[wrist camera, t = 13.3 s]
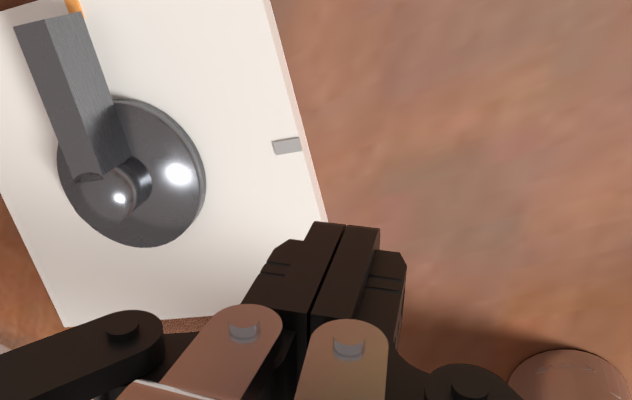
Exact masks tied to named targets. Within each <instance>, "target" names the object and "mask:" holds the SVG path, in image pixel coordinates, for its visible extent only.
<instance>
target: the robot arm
mask: <svg viewBox="0 0 632 400" xmlns="http://www.w3.org/2000/svg"><path fill="white" fill-rule="evenodd" d="M379 247H380V229H379V228H371V227H363V226H354V225H347V226H346V225H345V224H337V223H328V222H320V221H314V222H313V224H312V226H311V228H310V230H309V231H308V233H307V235H306V237H305V239H304V241H303V240H295V239H288V240H287V241H285V242H284V243H282V244H281V245H279V246H278V247H276V248H274V250H273V251H272V253H271V255H270V256H269V258H268V259H267V261H266V264H264V266H263V268H262V269H261V271H260V274H258V276H257V277H256V279H255V281H254V282H253V284H252V286H251V287H250V289H249V290H248V292H247V294H246V295H245V297H244V299H243V300H242V302H241V303H240V304H239V305H234V306H230V307H227V308H225V309H222V310H221V311H219V312H217V313H216V314H215V315H213V316H212V317H211V318H210V320H209V321H208V322H207V323H206V325H205V326H204V327H203V328H202V330H201V331H199V332H189V333H173V334H164V333H163V325H162V322H161V320H160V319H159V318H158V317H157V316H156V315H154V314H152V313H150V312H147V311H142V310H124V311H118V312H114V313H111V314H108V315H105V316H103V317H100V318H97V319H95V320H92V321H89V322H87V323H84V324H81V325H78V326H76V327H73V328H70V329H68V330H65V331H62V332H60V333H57V334H54V335H52V336H49V337H46V338H44V339H41V340H38V341H36V342H33V343H30V344H27V345H25V346H22V347H19V348H17V349H14V350H11V351H9V352H7V353H3V354H1V355H0V400H91V399H93V398H94V400H632V399H631V396H630V394H629V391H628V388H627V385H626V382H625V380H624V378H623V377H622V375H621V374H620V372H619V371H618V370H617V369H616V368H615V367H613V366H612V365H611V364H610V363H609V362H607V361H605V360H604V359H602V358H600V357H598V356H595V355H593V354H590V353H587V352H582V351H577V350H553V351H547V352H543V353H540V354H537V355H535V356H533V357H531V358H529V359H527V360H525V361H524V362H523V363H522V364H520V365H519V366H518V367H517V368H516V369H515V371H514V372H513V373H512V375H511V377H510V379H509V381H508V384H507V383H506V382H505V381H503V380H502V379H501V378H500V377H499V376H497V375H496V374H494V373H492V372H490V371H488V370H486V369H484V368H481V367H478V366H474V365H469V364H449V365H445V366H442V367H440V368H437V369H436V370H434V371H433V372H432V373H431V374H428V373H426V372H423V371H421V370H419V369H417V368H415V367H413V366H412V365H410V364H409V363H407V362H406V361H405V360H404V359H403V358H402V357H401V356H400V355H399V354H398V352H397V348H398V342H399V336H400V330H401V325H402V316H403V305H404V294H405V282H406V271H407V265H406V263H405V261H404V260H403V258H402V256H401V254H400V253H398V252H390V251H382V250H379Z"/></svg>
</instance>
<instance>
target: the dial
mask: <svg viewBox="0 0 632 400" xmlns="http://www.w3.org/2000/svg"><path fill="white" fill-rule="evenodd" d="M13 29H14V32H15V34H16V37H17V39H18V42H19V44H20V47H21V49H22V52H23V54H24V57H25V59H26V62H27V64H28V67H29V69H30V72H31V75H32V77H33V80H34V82H35V85H36V87H37V90H38V92H39V95H40V97H41V100H42V102H43V105H44V107H45V110H46V112H47V115H48V117H49V120H50V122H51V125H52V127H53V130H54V132H55V135H56V137H57V140H58V148H57V170H58V175H59V179H60V182H61V185H62V188H63V190H64V192H65V194H66V197H67V198H68V200H69V202H70V203H71V205H72V206H73V208H74V210H75V211H76V213H77V214H78V215H79V216H80V217H81V218H82V219H83V220H84V221H85V222H86V223H87V224H89V225H90V226H91V227H92V228H93V229H95V230H96V231H97V232H99V233H100V234H102V235H103V236H105V237H107V238H109V239H111V240H113V241H115V242H118V243H120V244H123V245H127V246H131V247H139V248H152V247H158V246H162V245H165V244H167V243H169V242H171V241H174V240H175V239H176V238H178V237H179V236H181V235H182V234H183V233H184V232H185V231H186V230H187V228H188V227H189V226H190V225H191V224H192V223H193V222H194V221H195V219H196V218H197V217H198V215H199V213H200V211H201V209H202V207H203V204H204V201H205V196H206V174H205V169H204V165H203V162H202V159H201V156H200V154H199V152H198V150H197V148H196V146H195V144H194V143H193V141H192V140H191V138H190V137H189V135H188V134H187V133H186V132H185V130H184V129H183V128H182V127H181V126H180V125H179V124H178V123H177V122H176V121H175V120H174V119H172V118H171V117H170V116H169V115H167V114H166V113H164V112H163V111H161V110H159V109H158V108H156V107H154V106H151V105H149V104H147V103H144V102H141V101H137V100H131V99H112V97H111V94H110V91H109V88H108V86H107V83H106V80H105V77H104V74H103V71H102V69H101V66H100V63H99V60H98V57H97V54H96V52H95V49H94V46H93V43H92V40H91V37H90V35H89V32H88V29H87V26H86V23H85V20H84V18H83V15H82V12H81V11H79V12H75V13H70V14H66V15H61V16H56V17H52V18H47V19H43V20H39V21H34V22H30V23H26V24H22V25H18V26H14V27H13Z"/></svg>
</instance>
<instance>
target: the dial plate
mask: <svg viewBox="0 0 632 400" xmlns="http://www.w3.org/2000/svg"><path fill="white" fill-rule="evenodd" d="M79 11H81V12H82V15H83V18H84V20H85V23H86V26H87V29H88V32H89V35H90V37H91V40H92V43H93V46H94V49H95V52H96V54H97V57H98V60H99V63H100V66H101V69H102V71H103V74H104V77H105V80H106V83H107V86H108V88H109V91H110V94H111V97H112V99H131V100H137V101H141V102H144V103H147V104H149V105H151V106H154V107H156V108H158V109H159V110H161V111H163V112H164V113H166V114H167V115H169V116H170V117H171V118H172V119H174V120H175V121H176V122H177V123H178V124H179V125H180V126H181V127H182V128H183V129H184V130H185V132H186V133H187V134H188V135H189V137H190V138H191V140H192V141H193V143H194V144H195V146H196V148H197V150H198V152H199V154H200V156H201V159H202V162H203V165H204V169H205V174H206V196H205V201H204V204H203V207H202V209H201V211H200V213H199V215H198V217H197V218H196V219H195V221H194V222H193V223H192V224H191V225H190V226H189V227H188V228H187V230H186V231H185V232H184V233H183V234H182V235H181V236H179V237H178V238H176V239H175V240H174V241H171V242H169V243H167V244H165V245H162V246H158V247H152V248H139V247H131V246H127V245H123V244H120V243H118V242H115V241H113V240H111V239H109V238H107V237H105V236H103V235H102V234H100V233H99V232H97V231H96V230H95V229H93V228H92V227H91V226H90V225H89V224H87V223H86V222H85V221H84V220H83V219H82V218H81V217H80V216H79V215H78V214H77V213H76V211H75V210H74V208H73V206H72V205H71V203H70V202H69V200H68V198H67V197H66V194H65V192H64V190H63V188H62V185H61V182H60V179H59V175H58V170H57V148H58V140H57V137H56V135H55V132H54V130H53V127H52V125H51V122H50V120H49V117H48V115H47V112H46V110H45V107H44V105H43V102H42V100H41V97H40V95H39V92H38V90H37V87H36V85H35V82H34V80H33V77H32V75H31V72H30V69H29V67H28V64H27V62H26V59H25V57H24V54H23V52H22V49H21V47H20V44H19V42H18V39H17V37H16V34H15V32H14V29H13V27H14V26H18V25H22V24H26V23H30V22H34V21H39V20H43V19H47V18H52V17H56V16H61V15H66V14H70V13H75V12H79ZM0 193H1V195H2V198H3V200H4V202H5V204H6V206H7V208H8V210H9V212H10V214H11V216H12V218H13V221H14V223H15V225H16V227H17V229H18V231H19V233H20V235H21V237H22V239H23V242H24V244H25V246H26V248H27V250H28V252H29V254H30V256H31V258H32V260H33V263H34V265H35V267H36V269H37V271H38V273H39V275H40V277H41V279H42V281H43V283H44V286H45V288H46V290H47V292H48V294H49V296H50V298H51V300H52V302H53V304H54V307H55V309H56V311H57V313H58V315H59V317H60V319H61V321H62V323H63V325H64V327H74V326H78V325H81V324H84V323H87V322H89V321H92V320H95V319H97V318H100V317H103V316H105V315H108V314H111V313H114V312H118V311H124V310H142V311H147V312H150V313H152V314H154V315H156V316H157V317H158V318H159V319H160V320H164V319H177V318H190V317H203V316H213V315H215V314H216V313H217V312H219V311H221V310H222V309H225V308H227V307H230V306H234V305H239V304H240V303H241V302H242V300H243V299H244V297H245V295H246V294H247V292H248V290H249V289H250V287H251V286H252V284H253V282H254V281H255V279H256V277H257V276H258V274H260V271H261V269H262V268H263V266H264V264H266V261H267V259H268V258H269V256H270V255H271V253H272V251H273V250H274V248H276V247H278V246H279V245H281V244H282V243H284V242H285V241H287V240H288V239H295V240H303V241H304V239H305V237H306V235H307V233H308V231H309V230H310V228H311V226H312V224H313V222H314V221H320V222H328V219H327V215H326V212H325V208H324V204H323V200H322V196H321V193H320V189H319V185H318V181H317V177H316V174H315V170H314V166H313V162H312V158H311V155H310V151H309V147H308V143H307V139H306V136H305V132H304V128H303V124H302V120H301V116H300V113H299V109H298V105H297V101H296V97H295V94H294V90H293V86H292V82H291V78H290V75H289V71H288V67H287V63H286V59H285V56H284V52H283V48H282V44H281V40H280V37H279V33H278V29H277V25H276V21H275V18H274V14H273V10H272V6H271V2H270V0H37V1H34V2H31V3H27V4H24V5H21V6H17V7H14V8H10V9H7V10H4V11H0Z"/></svg>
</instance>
